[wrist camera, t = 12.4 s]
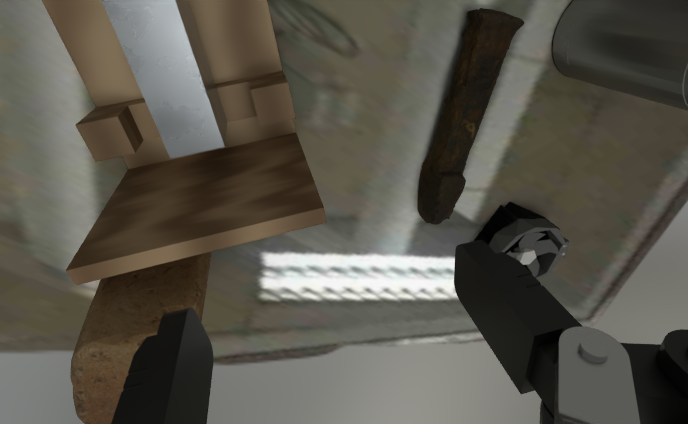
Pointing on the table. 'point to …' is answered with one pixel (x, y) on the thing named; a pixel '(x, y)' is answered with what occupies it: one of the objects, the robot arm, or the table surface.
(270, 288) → the table surface
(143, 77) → the rail
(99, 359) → the brown rounded piece
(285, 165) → the post cradle
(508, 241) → the cpu cooler
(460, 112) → the dark brown bar
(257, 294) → the table surface
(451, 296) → the table surface
